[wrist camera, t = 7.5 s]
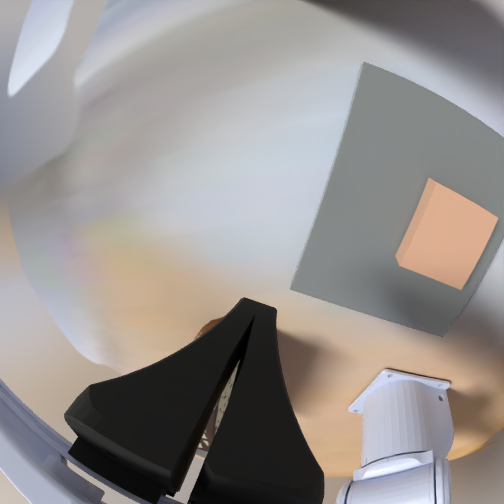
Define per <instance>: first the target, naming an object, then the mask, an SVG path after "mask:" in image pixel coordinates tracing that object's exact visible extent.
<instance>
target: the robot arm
mask: <svg viewBox="0 0 504 504" xmlns="http://www.w3.org/2000/svg"><path fill="white" fill-rule="evenodd" d="M276 317H277V310H276V308H274V307H271V306H268V305H265V304H262V303H259V302H256V301H253V300H251V299H248V298H245V297H244V298H242V299H240V301H239V302H238V303H237V304H236V305H235V307H234V308H233V309H232V310H231V311H230V312H229V313H228V314H227V315H226V316H225V317H223V318H222V319H221V320H220V321H219V322H218V323H216V324H215V325H214V326H213V327H212V328H211V329H209V330H208V331H207V332H205V333H204V334H203V335H201V336H200V337H199V338H197V339H196V340H194V341H193V342H191V343H190V344H188V345H187V346H185V347H184V348H182V349H180V350H179V351H177V352H175V353H173V354H172V355H170V356H168V357H166V358H164V359H162V360H160V361H158V362H156V363H154V364H152V365H150V366H147V367H145V368H142V369H140V370H137V371H134V372H132V373H129V374H127V375H124V376H121V377H118V378H114V379H110V380H107V381H103V382H99V383H95V384H91V385H89V386H88V387H87V388H86V389H85V390H84V391H83V392H82V393H81V394H80V395H79V396H78V397H77V398H76V399H75V401H74V402H73V403H72V405H71V406H70V407H69V409H68V410H67V411H66V413H65V414H64V418H65V421H66V422H67V423H68V425H69V426H70V427H71V429H72V430H73V431H74V432H75V433H76V435H77V436H78V438H77V439H76V441H75V442H74V444H72V443H71V442H69V441H68V440H67V439H65V438H64V437H63V436H61V435H60V434H59V433H57V432H56V431H55V430H54V429H52V428H51V427H50V426H49V425H48V424H47V423H45V422H44V421H43V420H42V419H41V418H40V417H38V416H37V415H36V414H35V413H34V412H33V411H32V410H31V409H29V408H28V407H27V406H26V405H25V404H24V403H23V402H22V401H21V400H20V399H19V398H18V397H17V396H16V395H15V394H14V393H13V392H12V391H11V390H10V389H9V388H8V387H7V386H6V385H5V383H4V382H3V381H2V380H1V379H0V470H1V471H2V472H3V473H4V475H5V476H6V477H7V478H8V479H9V481H10V482H11V483H12V484H13V485H14V486H15V487H16V488H17V490H18V491H19V492H20V493H21V494H22V495H23V496H24V497H25V498H26V499H27V500H28V501H29V502H30V504H106V503H105V502H103V501H101V499H102V497H103V495H104V491H103V490H101V489H100V488H98V487H97V486H95V485H93V484H92V483H90V482H89V481H87V480H86V479H84V478H83V477H81V476H80V475H78V474H77V473H75V472H74V471H72V470H71V469H70V468H69V467H68V466H67V460H69V461H70V462H71V463H73V464H74V465H76V466H77V467H78V468H80V469H81V470H83V471H84V472H86V473H87V474H89V475H90V476H92V477H94V478H95V479H97V480H98V481H100V482H102V483H103V484H105V485H107V486H108V487H110V488H112V489H113V490H115V491H117V492H119V493H121V494H122V495H124V496H126V497H128V498H130V499H132V500H134V501H136V502H138V503H140V504H183V503H180V502H178V501H175V500H173V499H170V498H168V497H166V494H167V495H169V496H172V497H174V495H175V493H176V492H178V491H180V489H181V486H182V484H183V482H184V479H185V477H186V474H187V472H188V470H189V467H190V465H191V463H192V460H193V458H194V456H195V453H196V451H197V449H198V446H199V444H200V441H201V439H202V437H203V434H204V432H205V430H206V427H207V425H208V422H209V420H210V418H211V415H212V413H213V411H214V408H215V406H216V404H217V402H218V400H219V399H220V397H221V395H222V393H223V391H224V389H225V387H226V385H227V383H228V382H229V380H230V378H231V376H232V374H233V372H234V370H235V368H236V366H237V364H238V362H239V364H238V368H237V372H236V375H235V379H234V383H233V386H232V390H231V394H230V397H229V401H228V404H227V407H226V409H225V412H224V414H223V417H222V419H221V422H220V424H219V427H218V429H217V431H216V434H215V436H214V439H213V441H212V444H211V446H210V448H209V451H208V453H207V455H206V458H205V460H204V463H203V466H202V468H201V471H200V473H199V476H198V478H197V481H196V483H195V485H194V488H193V490H192V492H191V495H190V498H189V500H188V502H187V504H322V502H323V498H324V473H323V471H322V469H321V467H320V466H319V464H318V462H317V461H316V459H315V457H314V455H313V454H312V452H311V450H310V448H309V446H308V444H307V442H306V440H305V438H304V436H303V433H302V431H301V429H300V426H299V424H298V421H297V419H296V416H295V414H294V411H293V409H292V406H291V403H290V400H289V396H288V393H287V389H286V386H285V382H284V378H283V374H282V369H281V364H280V358H279V351H278V343H277V330H276ZM239 360H240V361H239ZM449 386H450V382H449V381H444V380H438V379H433V378H428V377H422V376H418V375H413V374H408V373H403V372H399V371H394V370H390V369H384V370H383V371H381V373H380V374H379V375H378V376H377V377H376V378H375V379H374V381H373V382H372V383H371V384H370V385H369V386H368V387H367V388H366V389H365V391H364V392H363V393H362V394H361V395H360V396H359V397H358V398H357V399H356V400H355V401H354V402H353V403H352V404H351V405H350V406H349V407H348V411H349V412H353V413H358V414H363V430H362V453H361V468H360V469H356V470H354V476H353V478H351V479H349V480H348V481H347V482H346V483H345V484H344V485H343V487H342V488H341V489H340V491H339V494H338V496H337V500H336V504H451V476H450V467H449V461H448V459H447V458H445V457H446V456H447V454H448V453H449V451H450V449H451V447H452V443H453V439H454V427H453V422H452V416H451V411H450V406H449V402H448V397H447V393H446V390H447V389H448V388H449ZM64 457H65V458H66V459H67V460H66V459H65V458H64Z"/></svg>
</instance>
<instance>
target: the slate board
mask: <svg viewBox="0 0 504 504" xmlns="http://www.w3.org/2000/svg"><path fill="white" fill-rule="evenodd" d="M428 178H431V179H433V180H435V181H437V182H439V183H441V184H443V185H445V186H447V187H449V188H451V189H452V190H454V191H456V192H458V193H460V194H461V195H463V196H465V197H467V198H468V199H470V200H472V201H474V202H475V203H477V204H479V205H480V206H482V207H483V208H485V209H487V210H488V211H490V212H491V213H492V214H494V215H495V216H496V217H498V220H497V223H496V225H495V227H494V229H493V232H492V234H491V236H490V238H489V240H488V242H487V244H486V246H485V248H484V250H483V252H482V254H481V256H480V258H479V260H478V262H477V264H476V265H475V267H474V269H473V271H472V273H471V274H470V276H469V278H468V279H467V281H466V283H465V285H464V286H463V288H462V289H461V290H460V289H457V288H455V287H452V286H450V285H447V284H445V283H442V282H440V281H437V280H435V279H432V278H430V277H427V276H425V275H422V274H419V273H417V272H414V271H412V270H409V269H406V268H404V267H401V266H399V264H398V261H397V259H396V257H395V255H396V253H397V251H398V248H399V246H400V244H401V242H402V240H403V238H404V236H405V234H406V231H407V229H408V227H409V225H410V222H411V220H412V218H413V216H414V213H415V211H416V209H417V206H418V204H419V201H420V199H421V196H422V194H423V191H424V189H425V186H426V183H427V181H428ZM503 237H504V138H503V137H502V136H501V135H500V134H498V133H497V132H496V131H494V130H493V129H491V128H490V127H489V126H487V125H486V124H484V123H483V122H482V121H480V120H479V119H477V118H476V117H474V116H473V115H471V114H469V113H468V112H466V111H465V110H463V109H462V108H460V107H458V106H457V105H455V104H453V103H452V102H450V101H448V100H446V99H445V98H443V97H441V96H439V95H437V94H435V93H434V92H432V91H430V90H428V89H426V88H424V87H422V86H420V85H418V84H416V83H414V82H412V81H409V80H407V79H405V78H403V77H401V76H398V75H396V74H394V73H391V72H389V71H387V70H384V69H382V68H379V67H376V66H374V65H371V64H368V63H366V62H363V63H362V65H361V68H360V72H359V76H358V79H357V83H356V87H355V91H354V94H353V98H352V101H351V105H350V109H349V112H348V115H347V119H346V122H345V126H344V129H343V133H342V136H341V139H340V142H339V146H338V149H337V152H336V155H335V159H334V162H333V165H332V168H331V171H330V174H329V177H328V180H327V183H326V187H325V190H324V193H323V196H322V199H321V201H320V204H319V207H318V210H317V213H316V216H315V219H314V222H313V225H312V228H311V230H310V233H309V236H308V239H307V242H306V244H305V247H304V250H303V253H302V255H301V258H300V261H299V263H298V266H297V269H296V271H295V274H294V277H293V279H292V283H291V287H290V289H291V290H294V291H297V292H300V293H303V294H306V295H309V296H312V297H315V298H318V299H321V300H324V301H327V302H330V303H333V304H336V305H340V306H343V307H346V308H349V309H352V310H355V311H358V312H362V313H365V314H368V315H371V316H374V317H378V318H381V319H384V320H387V321H391V322H394V323H397V324H401V325H404V326H407V327H411V328H414V329H417V330H421V331H424V332H427V333H431V334H434V335H438V336H441V337H443V335H444V334H445V333H446V332H447V330H448V329H449V327H450V326H451V325H452V323H453V322H454V321H455V319H456V318H457V316H458V315H459V313H460V312H461V311H462V309H463V308H464V306H465V305H466V303H467V302H468V300H469V298H470V297H471V295H472V294H473V292H474V291H475V289H476V287H477V286H478V284H479V282H480V281H481V279H482V277H483V275H484V274H485V272H486V270H487V268H488V267H489V265H490V263H491V261H492V259H493V257H494V255H495V253H496V251H497V249H498V247H499V245H500V243H501V241H502V239H503Z"/></svg>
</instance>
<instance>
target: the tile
mask: <svg viewBox="0 0 504 504" xmlns="http://www.w3.org/2000/svg"><path fill="white" fill-rule="evenodd" d="M497 220H498V217H496V216H495V215H494V214H492V213H491V212H490V211H488V210H487V209H485V208H483V207H482V206H480V205H479V204H477V203H475V202H474V201H472V200H470V199H468V198H467V197H465V196H463V195H461V194H460V193H458V192H456V191H454V190H452V189H451V188H449V187H447V186H445V185H443V184H441V183H439V182H437V181H435V180H433V179H431V178H428V181H427V183H426V186H425V189H424V191H423V194H422V196H421V199H420V201H419V204H418V206H417V209H416V211H415V213H414V216H413V218H412V220H411V222H410V225H409V227H408V229H407V231H406V234H405V236H404V238H403V240H402V242H401V244H400V246H399V248H398V251H397V253H396V255H395V257H396V259H397V261H398V264H399V266H401V267H404V268H406V269H409V270H412V271H414V272H417V273H419V274H422V275H425V276H427V277H430V278H432V279H435V280H437V281H440V282H442V283H445V284H447V285H450V286H452V287H455V288H457V289H460V290H461V289H462V288H463V286H464V285H465V283H466V281H467V279H468V278H469V276H470V274H471V273H472V271H473V269H474V267H475V265H476V264H477V262H478V260H479V258H480V256H481V254H482V252H483V250H484V248H485V246H486V244H487V242H488V240H489V238H490V236H491V234H492V232H493V229H494V227H495V225H496V223H497Z"/></svg>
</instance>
